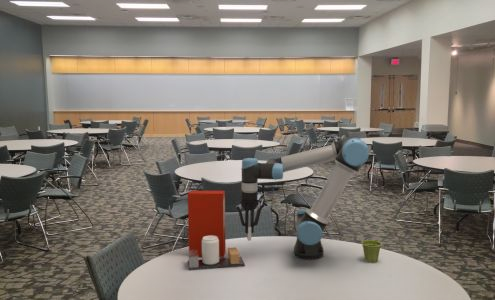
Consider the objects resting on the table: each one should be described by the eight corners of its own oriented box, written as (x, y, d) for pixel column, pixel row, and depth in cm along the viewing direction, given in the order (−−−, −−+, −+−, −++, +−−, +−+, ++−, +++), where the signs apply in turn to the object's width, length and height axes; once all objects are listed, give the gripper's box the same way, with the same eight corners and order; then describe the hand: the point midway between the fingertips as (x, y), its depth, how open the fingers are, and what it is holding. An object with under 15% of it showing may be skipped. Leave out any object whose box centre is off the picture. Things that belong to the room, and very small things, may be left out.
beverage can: (206, 266, 215) (205, 241, 213) (199, 261, 222) (198, 236, 221) (222, 263, 219) (221, 238, 217) (215, 258, 226) (214, 234, 224)
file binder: (192, 251, 240) (190, 190, 236) (225, 252, 238) (224, 190, 235) (189, 256, 232) (187, 193, 228) (223, 257, 230) (222, 193, 227)
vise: (241, 259, 228) (241, 246, 227) (244, 266, 218) (244, 253, 217) (187, 262, 224) (187, 250, 223) (188, 270, 214) (188, 257, 213)
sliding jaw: (236, 256, 227) (236, 247, 227) (239, 263, 217) (239, 254, 217) (228, 257, 227) (228, 247, 226) (230, 264, 217) (230, 254, 216)
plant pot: (380, 264, 219) (381, 247, 218) (360, 262, 221) (360, 245, 220) (381, 258, 227) (382, 241, 226) (362, 256, 230) (362, 239, 229)
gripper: (261, 189, 224) (261, 236, 227) (234, 189, 222) (234, 238, 225) (264, 192, 217) (264, 241, 220) (237, 193, 215) (236, 242, 218)
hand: (249, 239), depth 222 cm, fingers closed
